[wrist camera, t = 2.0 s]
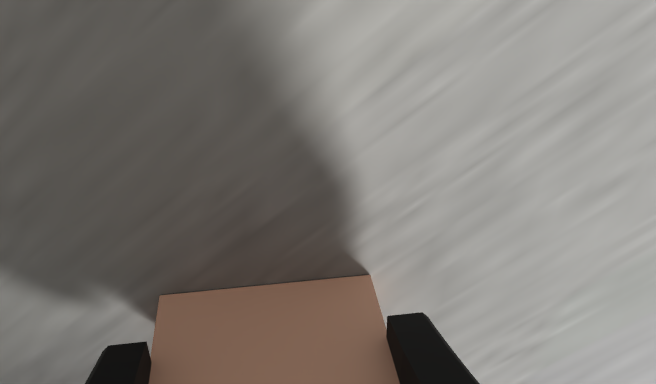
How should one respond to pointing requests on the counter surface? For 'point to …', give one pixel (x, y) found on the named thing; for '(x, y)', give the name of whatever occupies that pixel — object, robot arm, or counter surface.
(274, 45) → the counter surface
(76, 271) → the counter surface
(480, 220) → the counter surface
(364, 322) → the tile
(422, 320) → the robot arm
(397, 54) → the counter surface
